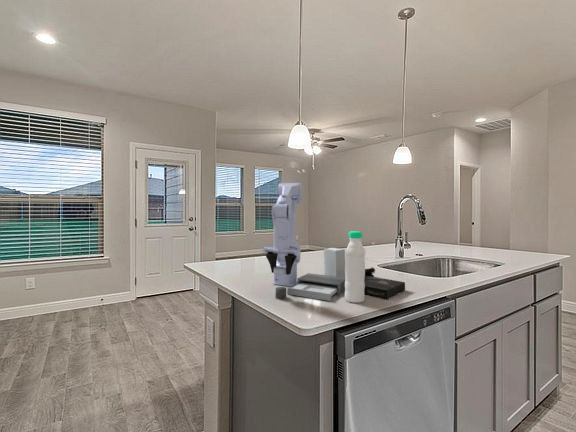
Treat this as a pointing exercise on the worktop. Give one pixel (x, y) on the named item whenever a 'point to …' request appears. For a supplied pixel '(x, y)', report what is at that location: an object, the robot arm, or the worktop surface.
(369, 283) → the portable cd player
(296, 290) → the tray
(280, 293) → the dark grey cylinder
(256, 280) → the worktop surface
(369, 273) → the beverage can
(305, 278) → the housing
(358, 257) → the water bottle
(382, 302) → the worktop surface
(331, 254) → the skincare box
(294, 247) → the robot arm
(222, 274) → the worktop surface
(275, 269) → the disc
